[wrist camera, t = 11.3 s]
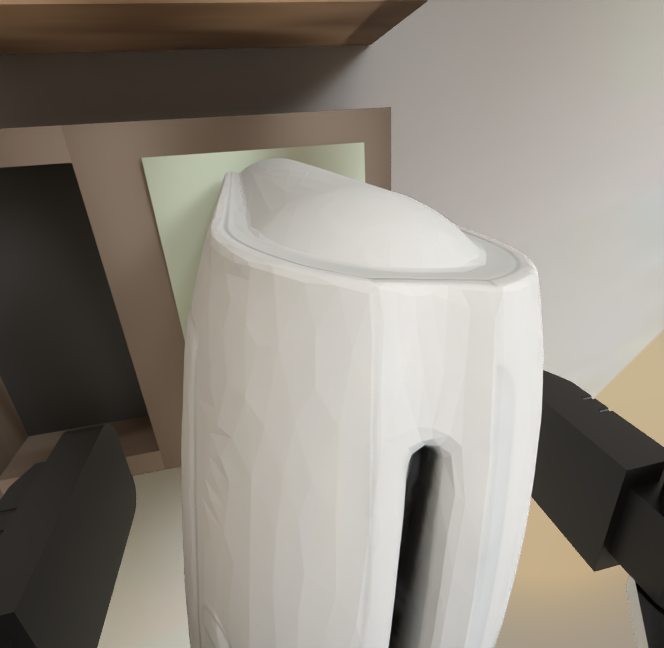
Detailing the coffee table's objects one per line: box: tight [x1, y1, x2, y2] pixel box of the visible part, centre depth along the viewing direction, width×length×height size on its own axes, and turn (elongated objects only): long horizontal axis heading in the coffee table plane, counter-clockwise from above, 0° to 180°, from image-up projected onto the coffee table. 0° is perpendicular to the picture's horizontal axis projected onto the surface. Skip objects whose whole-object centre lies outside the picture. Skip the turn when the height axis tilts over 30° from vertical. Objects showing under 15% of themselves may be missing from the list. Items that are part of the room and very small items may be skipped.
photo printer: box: [181, 158, 543, 648], centre depth 9 cm, size 10×4×12 cm, turn 175°
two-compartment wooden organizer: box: [0, 107, 391, 500], centre depth 16 cm, size 17×13×3 cm
